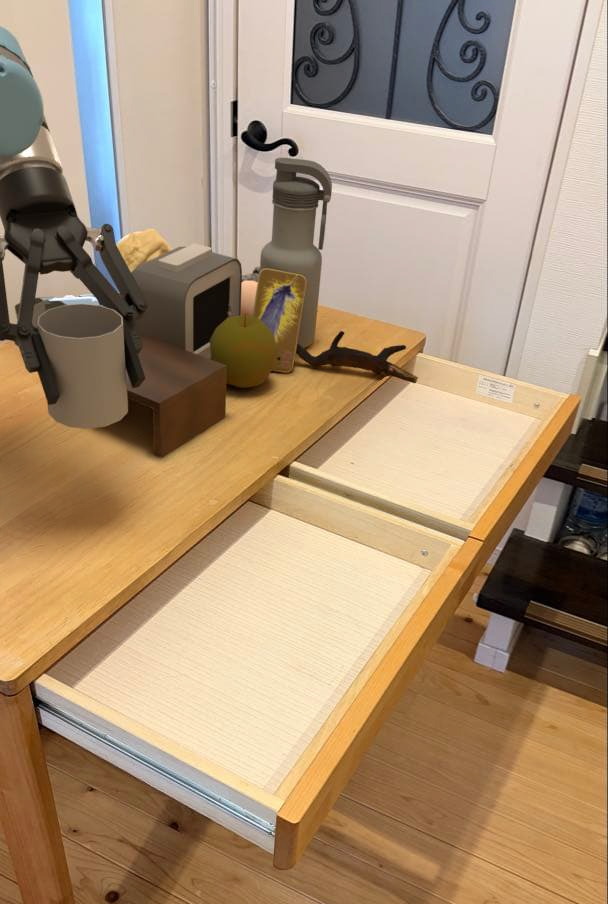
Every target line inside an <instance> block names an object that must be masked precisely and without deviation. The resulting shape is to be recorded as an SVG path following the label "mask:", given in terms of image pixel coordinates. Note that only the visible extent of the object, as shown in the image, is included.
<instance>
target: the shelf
mask: <svg viewBox="0 0 608 904" xmlns="http://www.w3.org/2000/svg"><path fill="white" fill-rule="evenodd" d="M139 335H140V337H141V340H142V343H143V346H142V350H141V351H140V353H138V357H139V360H140V363H141V366H142V369H143V372H144V375H145V378H146V379H145V380H144V381H143V382H142V384H141V385H140V386H139V387H136V388H132V385H131V382H130V379H129V376H128V373H127V370H126V382H127V399H128V400H131V401H133V402H136V403H137V404H141V405H143V406H146V407H147V408H148V407H149V408H150V409H152V424H153V425H152V426H153V445H154V446H153V451H154V454H153V455H154V456H156V457H159V458H163V457H165V456H166V455H168V454H169V453H171V452H173V451H175V450H176V449H177V448H178V447H180V446H182V445H183V444H185V443H187V442H188V441H189V440H191V439H194V438H195V437H197V436H198V435H199V434H201V433H202V432H204V431H206V430H207V429H209V428H210V427H212V426H214V425H215V424H217V423H218V422H220V421H222V420H223V419H224V418H226V410H227V409H226V407H227V383H226V373H227V366H226V365H224V364H221V363H219V362H216V361H213V360H211V359H208V358H205V357H203V356H200V355H197V354H195V353H192V352H189V351H187V350H184V349H181V348H179V347H176V346H173V345H171V344H168V343H165V342H162V341H160V340H157V339H154V338H152V337H149V336H146V335H144V334H141V333H139Z"/></svg>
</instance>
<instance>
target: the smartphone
mask: <svg viewBox="0 0 608 904" xmlns="http://www.w3.org/2000/svg"><path fill="white" fill-rule="evenodd" d="M305 290H306V279H305V277H304V276H303V275H300V274H295V273H289V272H284V271H279V270H274V269H268V268H265V269H262V270H261V271H260V273H259V277H258V284H257V290H256V297H255V304H254V310H253V317H256V318H258V319H260V320H261V321H263V323H264V324H265V325H266V326H267V327H268V328H269V329H270V330H271V331H272V333H273V335H274V338H275V341H276V344H277V348H278V352H277V356H276V361H275V365H274V367H273V369H272V370H271V372H277V373H283V374H288V373H290V372H291V371H292V370H293V368H294V364H295V357H296V348H297V339H298V333H299V327H300V321H301V315H302V308H303V302H304V296H305Z"/></svg>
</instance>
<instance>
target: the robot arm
mask: <svg viewBox="0 0 608 904" xmlns="http://www.w3.org/2000/svg"><path fill="white" fill-rule="evenodd" d="M63 173H64V168H63V166H62V163H61V160H60V158H59V154H58V151H57V149H56V146H55V143H54V140H53V137H52V135H51V132H50V128H49V125H48V122H47V119H46V116H45V107H44V101H43V96H42V92H41V90H40V86H39V85H38V83H37V82H36V80H35V78H34V75H33V72H32V69H31V67H30V65H29V64H28V62H27V59H26V57H25V54H24V53H23V50H22V47H21V45H20V43H19V41H18V39H17V38H16V36H14V35H13V33H12V32H11V31H10V30H8V29H6V28H5V27H3V26H1V25H0V221H1V224H2V227H3V229H4V234H3V235H2V236H0V342H4V341H10V342H14V345H15V346H17V347H18V349H19V352H20V354H21V355H20V356H21V358H22V361H23V364H24V367H25V370H26V371H27V372H28V374H32V373H37V376H38V378H39V380H40V384H41V387H42V390H43V393H44V396H45V399H46V403H47V402H48V405H52V404H56V402H57V400H58V399H59V397H60V393H59V390H58V387H57V384H56V381H55V378H54V375H53V372H52V369H51V366H50V363H49V360H48V357H47V354H46V351H45V348H44V345H43V342H42V338H41V336H40V333H37V334H32V336H31V333H30V331H31V324H32V317H33V310H34V303H35V298H36V297H37V290H38V289H37V288H38V281H39V275H48V274H50V273H51V274H52V273H53V272H61V273H65V272H70V273H71V274H72V276H73V277H74V278H75V279H76V280H77V279H78V280H80V282H81V283H82V284H83V285H84V286H85V287H86V289H87V290H88V291H89V292H90V293H91V294H93V295H94V297H95V298H96V299H97V300H98V301H99V302H100V304H101V305H102V306H103V307H106V308H109V309H113V310H115V311H116V312H117V313H119V314H120V315H121V316H122V317H123V331H124V348H125V365H126V370H127V373H128V376H129V379H130V382H131V385H132V388H136V387H139V386H140V385H141V384H142V382H143V381H144V380H145V379H146V378H145V375H144V372H143V369H142V366H141V363H140V360H139V357H138V353H140V351H141V350H142V346H143V343H142V340H141V337H140V335H139V331H138V328H137V325H136V322H135V320H137V319H140V318H141V317H142V316H143V314H144V313H145V311H146V310H147V308H148V303H147V301H146V299H145V297H144V296H143V294H142V292H141V290H140V288H139V286H138V285H137V283H136V281H135V279H134V277H133V275H132V273H131V272H130V270H129V268H128V266H127V264H126V262H125V260H124V259H123V257H122V255H121V253H120V251H119V249H118V248H117V246H116V244H117V243H116V238H115V231H114V227H113V226H112V225H111V224H110V223H103V224H102V226H101V227H87V226H86V225H85V223H84V222H82V220H81V219H80V217H79V215H78V212H77V209H76V205H75V202H74V199H73V196H72V193H71V190H70V188H69V184H68V181H67V178H66V177H65V175H64V174H63ZM85 242H89V243H90V244H91V245H92V247H93V250H94V251H96V252H98V253H99V256H100V259H101V261H102V263H103V265H104V267H105V269H106V270H107V273H108V274H109V276H110V278H111V280H112V282H113V284H114V285H115V287H116V288H115V287H114V286H113V285H112V284H111V283H110V281H109V280H108V279H107V278H106V277H105V275H104V274H103V273H102V272H101V271H100V269H98V268H97V266H96V265H95V264H94V263H93V260H92V257H91V256H90V254H89V253H88V252H87V251H86V250H85V249H84V245H85ZM6 250H7V251H8V252H10V253H11V254H12V255H13V256H15V257H16V258H17V259H18V260H20V261H21V262H22V263H23V264H24V271H23V276H22V286H21V293H20V299H19V301H20V302H19V303H20V306H19V313H18V320H17V319H16V323H11V322H10V313H9V306H8V304H9V303H8V297H7V288H6V281H5V273H4V271H5V270H4V264H3V261H4V260H5V257H6ZM116 289H117V290H116ZM48 405H47V406H48Z"/></svg>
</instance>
